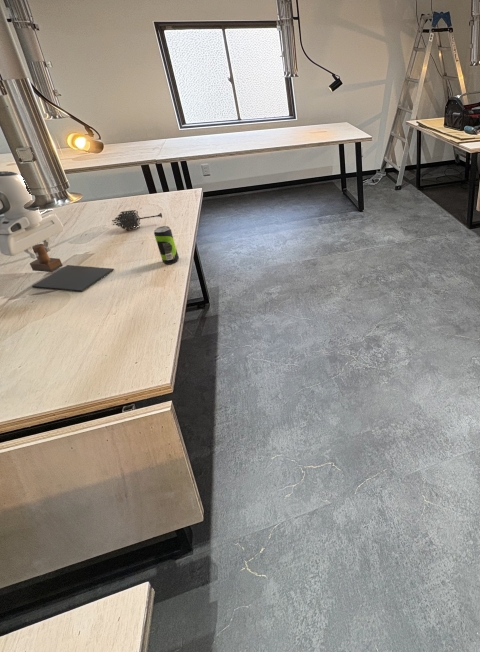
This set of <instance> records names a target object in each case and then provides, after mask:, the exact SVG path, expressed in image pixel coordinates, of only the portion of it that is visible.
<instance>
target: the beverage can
mask: <svg viewBox="0 0 480 652" xmlns="http://www.w3.org/2000/svg"><path fill="white" fill-rule="evenodd" d="M153 234H154V237H155V242H156V244H157V248H158V251H159V255H160V257H161V259H162V260H161V261H162V263H163V264H165V265H172V263H173V264H176V263H177V262H178V261H179V259H180V258H179V257H180V256H179V253H178V250H177V246H176V242H175V239H174V235H173V232H172V229H171V227H170V226H168V225H162V226H159V227H157V228H154V230H153Z"/></svg>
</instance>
